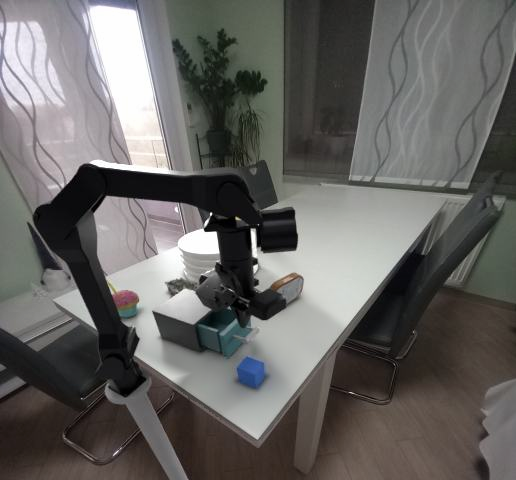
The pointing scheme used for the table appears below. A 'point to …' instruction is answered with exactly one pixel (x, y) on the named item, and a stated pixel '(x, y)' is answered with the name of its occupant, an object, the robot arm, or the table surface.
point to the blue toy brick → (251, 372)
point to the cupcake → (125, 301)
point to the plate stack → (203, 253)
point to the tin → (289, 286)
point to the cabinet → (181, 319)
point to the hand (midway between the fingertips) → (243, 327)
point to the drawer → (224, 332)
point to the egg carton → (180, 285)
